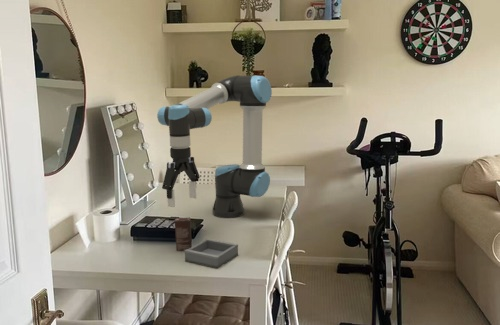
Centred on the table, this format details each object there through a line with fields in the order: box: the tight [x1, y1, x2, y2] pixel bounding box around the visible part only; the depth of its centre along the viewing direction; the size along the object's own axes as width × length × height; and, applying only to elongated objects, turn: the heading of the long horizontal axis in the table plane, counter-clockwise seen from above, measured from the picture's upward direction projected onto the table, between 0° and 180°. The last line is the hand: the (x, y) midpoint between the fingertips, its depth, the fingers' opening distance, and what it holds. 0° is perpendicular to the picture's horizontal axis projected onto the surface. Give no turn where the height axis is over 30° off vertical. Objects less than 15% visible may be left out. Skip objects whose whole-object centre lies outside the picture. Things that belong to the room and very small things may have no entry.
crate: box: [183, 237, 239, 269], centre depth 183 cm, size 14×14×4 cm
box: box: [174, 216, 193, 251], centre depth 192 cm, size 6×4×12 cm
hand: (182, 202), depth 189 cm, fingers open, 13 cm apart
